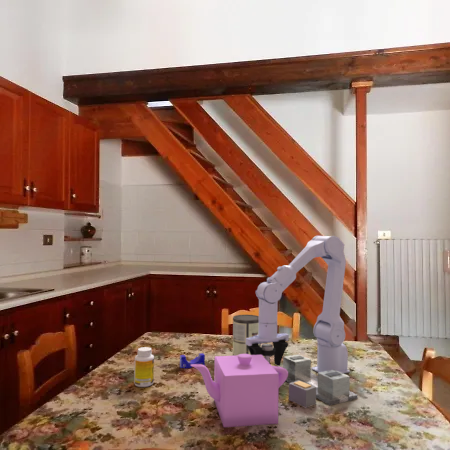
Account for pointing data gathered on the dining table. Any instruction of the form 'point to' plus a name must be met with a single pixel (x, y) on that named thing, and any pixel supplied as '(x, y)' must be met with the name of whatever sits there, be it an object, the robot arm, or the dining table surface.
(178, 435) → the dining table surface
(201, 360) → the cable holder
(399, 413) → the dining table surface
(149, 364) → the supplement bottle
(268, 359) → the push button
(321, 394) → the rail plate
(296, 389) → the block
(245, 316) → the coffee can
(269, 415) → the teapot
